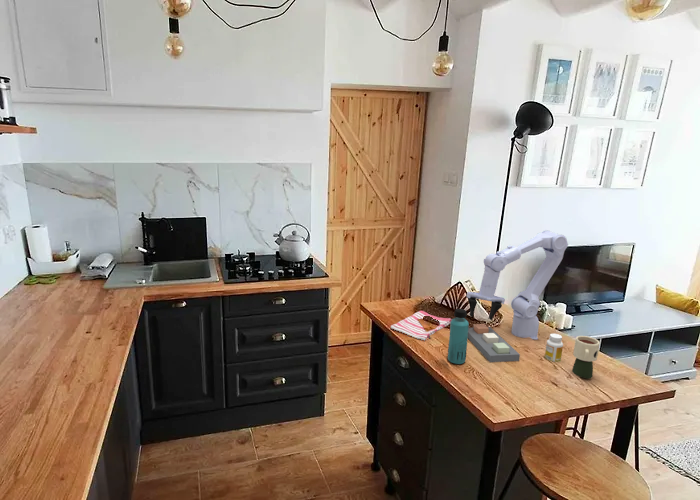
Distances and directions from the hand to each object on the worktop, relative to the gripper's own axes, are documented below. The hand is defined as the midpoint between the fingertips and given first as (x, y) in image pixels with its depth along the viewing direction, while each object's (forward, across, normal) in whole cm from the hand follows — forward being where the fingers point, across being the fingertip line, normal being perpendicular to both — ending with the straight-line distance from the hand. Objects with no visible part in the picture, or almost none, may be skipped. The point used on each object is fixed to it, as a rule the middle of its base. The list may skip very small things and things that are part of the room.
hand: (480, 317), depth 175 cm
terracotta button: (+7, +2, 0) cm, 7 cm away
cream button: (+7, +3, -8) cm, 11 cm away
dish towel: (+13, -19, +11) cm, 26 cm away
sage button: (+7, +4, -17) cm, 18 cm away
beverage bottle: (+12, -12, -20) cm, 27 cm away
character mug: (+6, +29, -27) cm, 40 cm away
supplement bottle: (+6, +23, -16) cm, 29 cm away
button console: (+9, +3, -8) cm, 13 cm away
